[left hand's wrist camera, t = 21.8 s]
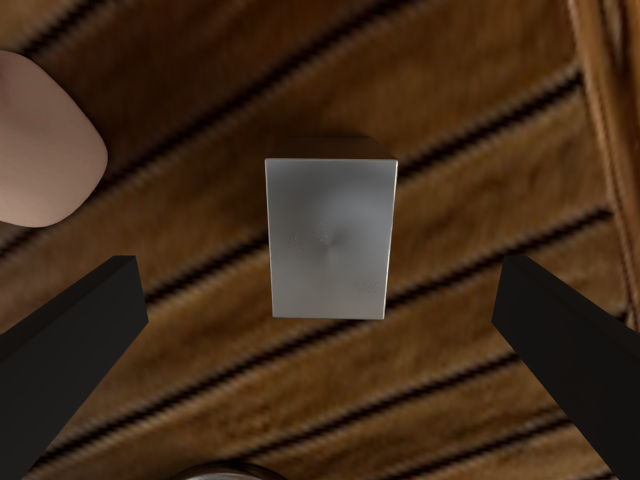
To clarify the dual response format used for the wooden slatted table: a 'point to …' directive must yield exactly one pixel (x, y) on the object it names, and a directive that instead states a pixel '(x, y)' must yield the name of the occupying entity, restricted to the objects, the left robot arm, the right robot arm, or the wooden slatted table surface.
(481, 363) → the wooden slatted table surface
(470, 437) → the wooden slatted table surface
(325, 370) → the wooden slatted table surface
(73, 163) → the anatomical model
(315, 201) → the block
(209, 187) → the wooden slatted table surface
